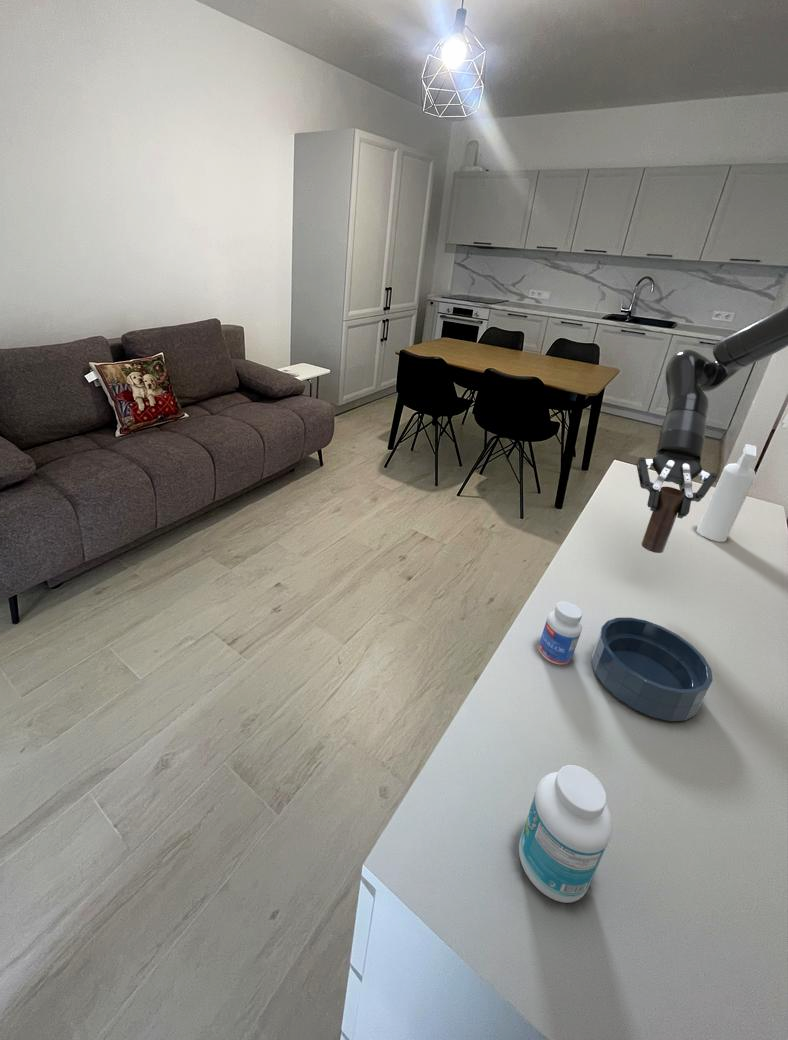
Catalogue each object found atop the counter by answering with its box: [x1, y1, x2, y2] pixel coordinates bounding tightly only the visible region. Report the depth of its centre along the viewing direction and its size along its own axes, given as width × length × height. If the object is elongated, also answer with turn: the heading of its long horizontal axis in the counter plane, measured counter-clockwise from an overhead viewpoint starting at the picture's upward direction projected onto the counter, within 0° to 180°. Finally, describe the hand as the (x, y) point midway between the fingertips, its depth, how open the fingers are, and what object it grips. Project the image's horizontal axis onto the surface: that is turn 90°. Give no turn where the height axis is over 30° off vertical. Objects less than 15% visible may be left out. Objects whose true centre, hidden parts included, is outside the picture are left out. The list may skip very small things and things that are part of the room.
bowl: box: [591, 617, 714, 722], centre depth 80 cm, size 15×15×6 cm
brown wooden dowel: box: [641, 486, 685, 554], centre depth 99 cm, size 4×4×13 cm
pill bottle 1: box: [538, 600, 583, 666], centre depth 84 cm, size 6×5×10 cm
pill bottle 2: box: [518, 764, 613, 904], centre depth 53 cm, size 8×7×14 cm
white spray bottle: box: [696, 443, 757, 543], centre depth 123 cm, size 7×12×25 cm, turn 141°
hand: (667, 512), depth 96 cm, fingers closed on brown wooden dowel, 4 cm apart
